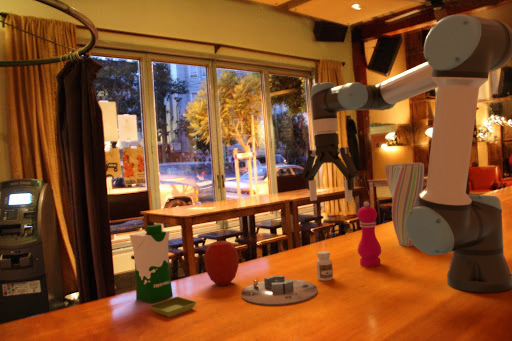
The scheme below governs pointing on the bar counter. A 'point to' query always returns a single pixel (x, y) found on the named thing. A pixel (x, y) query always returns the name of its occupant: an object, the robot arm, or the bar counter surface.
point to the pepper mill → (368, 237)
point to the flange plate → (279, 299)
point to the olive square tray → (173, 306)
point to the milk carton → (152, 264)
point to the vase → (404, 194)
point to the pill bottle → (324, 266)
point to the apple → (221, 262)
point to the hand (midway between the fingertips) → (330, 200)
